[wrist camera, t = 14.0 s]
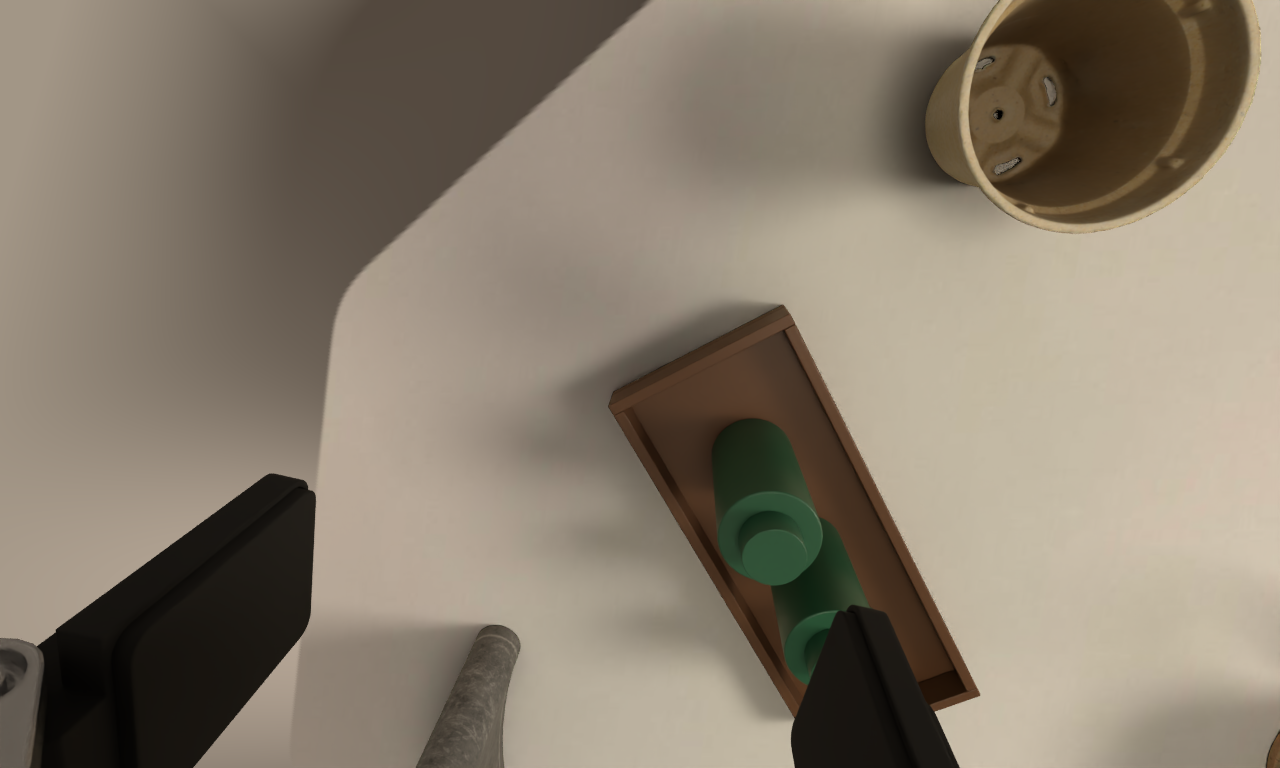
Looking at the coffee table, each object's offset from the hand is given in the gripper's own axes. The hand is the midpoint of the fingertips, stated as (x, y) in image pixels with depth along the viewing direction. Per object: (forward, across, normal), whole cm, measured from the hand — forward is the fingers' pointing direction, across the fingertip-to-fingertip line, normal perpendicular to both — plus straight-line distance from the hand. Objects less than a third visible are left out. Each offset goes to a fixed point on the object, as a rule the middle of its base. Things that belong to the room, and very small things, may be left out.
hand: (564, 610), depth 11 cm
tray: (+24, -11, +11) cm, 28 cm away
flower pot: (+24, -14, -13) cm, 30 cm away
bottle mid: (+23, -12, +11) cm, 28 cm away
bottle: (+23, -7, +6) cm, 25 cm away
